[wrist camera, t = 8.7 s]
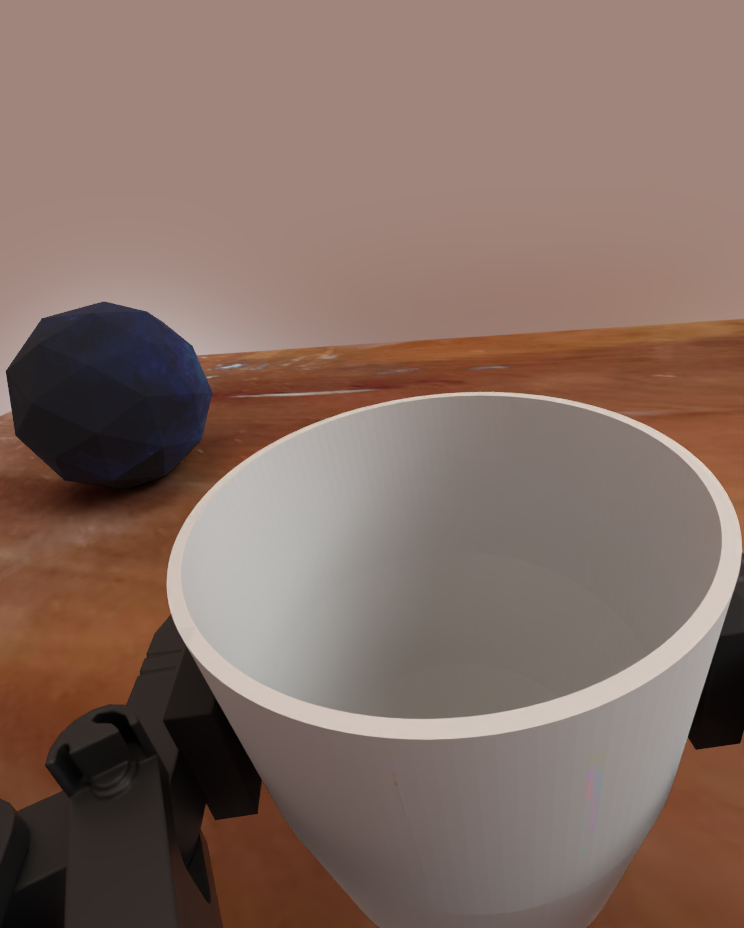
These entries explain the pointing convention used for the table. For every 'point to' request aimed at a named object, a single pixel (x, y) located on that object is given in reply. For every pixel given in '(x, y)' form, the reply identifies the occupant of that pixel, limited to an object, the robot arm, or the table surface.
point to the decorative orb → (108, 395)
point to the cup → (463, 644)
